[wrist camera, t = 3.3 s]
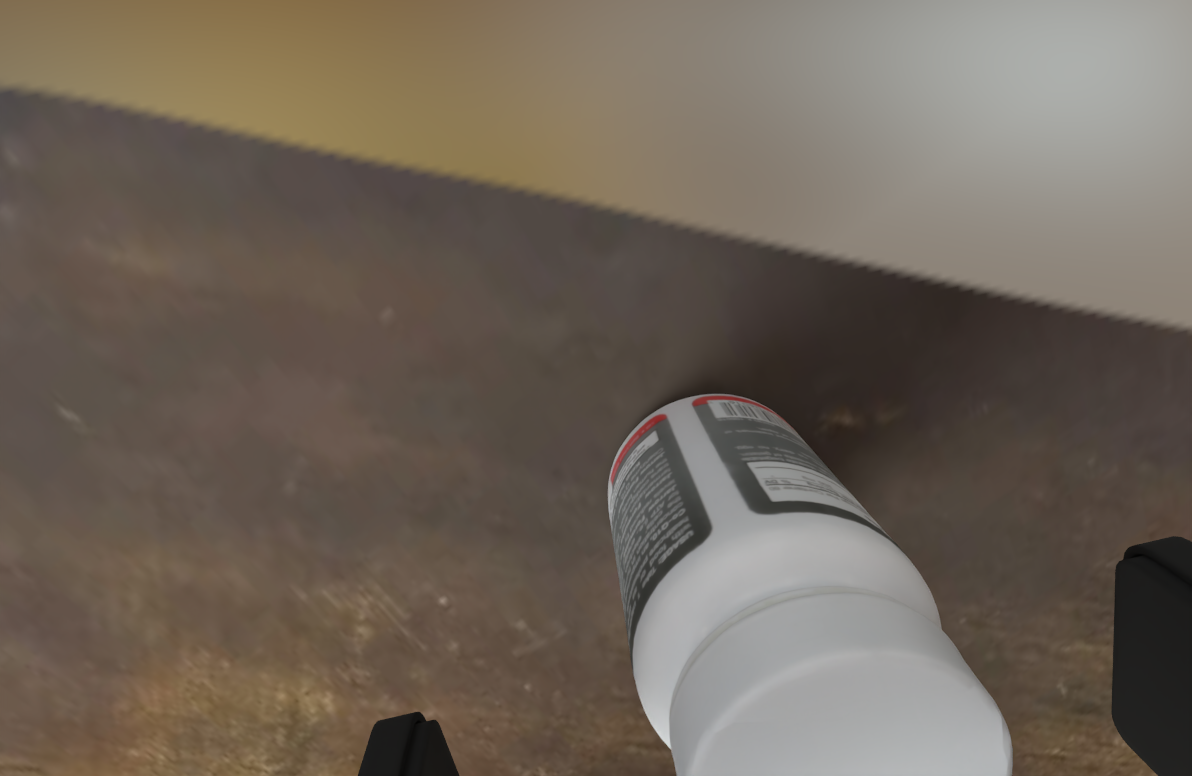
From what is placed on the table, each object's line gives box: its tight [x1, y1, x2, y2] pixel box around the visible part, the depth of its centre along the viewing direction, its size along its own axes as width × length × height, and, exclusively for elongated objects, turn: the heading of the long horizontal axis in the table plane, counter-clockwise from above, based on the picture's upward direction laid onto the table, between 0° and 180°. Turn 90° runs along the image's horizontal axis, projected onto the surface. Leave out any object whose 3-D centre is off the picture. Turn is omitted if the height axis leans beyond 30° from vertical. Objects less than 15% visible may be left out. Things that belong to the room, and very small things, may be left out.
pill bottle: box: [608, 394, 1013, 776], centre depth 12 cm, size 5×5×8 cm
